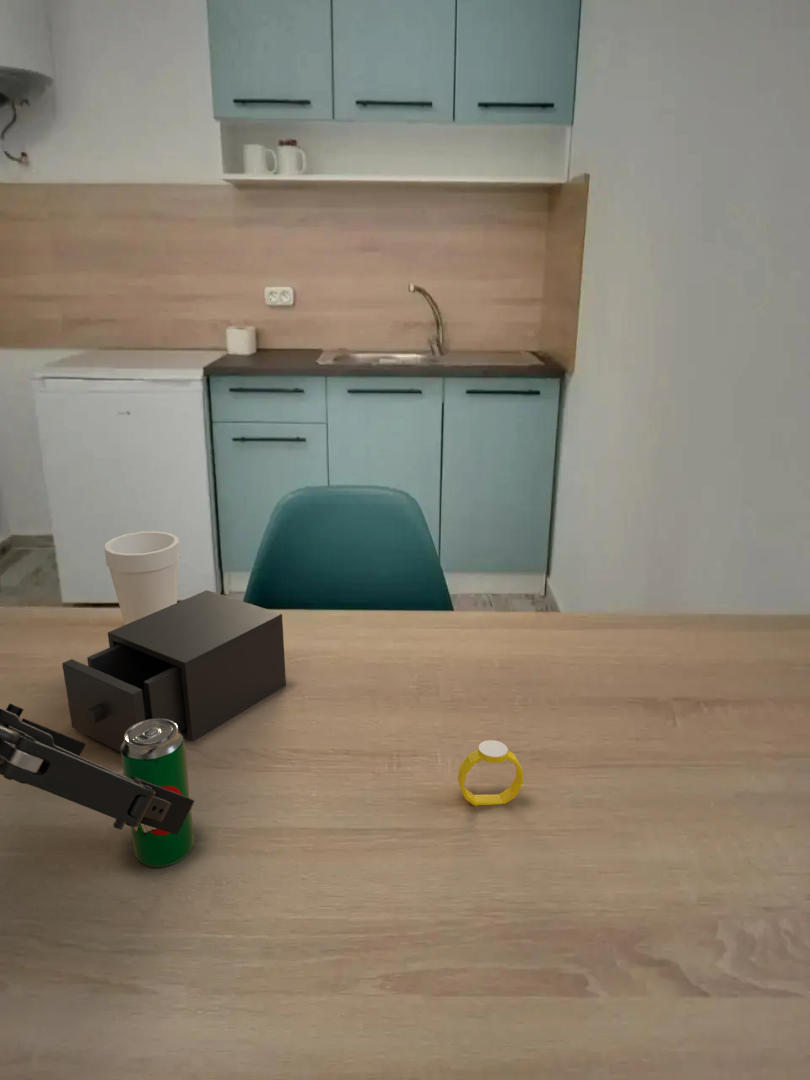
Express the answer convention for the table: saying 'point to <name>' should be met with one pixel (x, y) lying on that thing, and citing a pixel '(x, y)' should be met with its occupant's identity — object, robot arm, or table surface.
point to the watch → (493, 754)
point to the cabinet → (213, 654)
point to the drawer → (122, 693)
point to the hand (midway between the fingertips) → (126, 785)
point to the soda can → (162, 762)
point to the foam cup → (144, 572)
